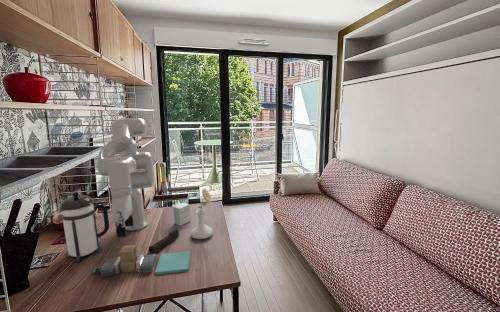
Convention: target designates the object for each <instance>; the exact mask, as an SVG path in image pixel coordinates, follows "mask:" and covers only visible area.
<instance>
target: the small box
mask: <svg viewBox="0 0 500 312" xmlns="http://www.w3.org/2000/svg"><path fill="white" fill-rule="evenodd" d="M173 219H174V224H176V225H178V226H183V225H185V224H187V223H189V222H191V221H192V217H191V204H189V203H186V202H182V203H180V204H177V205H174V206H173Z"/></svg>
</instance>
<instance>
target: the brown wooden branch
mask: <svg viewBox="0 0 500 312" xmlns="http://www.w3.org/2000/svg"><path fill="white" fill-rule="evenodd" d="M179 236H180V233H179V230H178V229H173V230H171V231H169V232H168V234H167V235H166V236H165V237H163V238H161V240H158V241H157V242H156V243H153V244H152V245H149V246H148V252H149V254H157V253H158V251H159V250H161V249H163V248H164V247H165V246H166V245H168V244H170V243H171V242H174V241H176V240H177V238H178V237H179Z"/></svg>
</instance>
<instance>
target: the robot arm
mask: <svg viewBox="0 0 500 312" xmlns="http://www.w3.org/2000/svg"><path fill="white" fill-rule="evenodd" d="M110 127H111V132H112V135H111V137H112V138H111V140H110V141H109V142H107V143H106V144H105V145H103V147H101V149H100V150H99V152H98V156H97V157H98V158H97V163H96V164H97V172H98V174H99V175H100V176H103V177H108V183H109V190H110V191H109V192H110V197H111V216H112V223H113V222H114V227H115V231H116V232H115V233H116V237H117V238H125V237H127V231H129V232H131V231H133V232H134V231H138V230H141V229H145V228H146V227H147V226H148V225H149V221H148V220H147V219H146V217H145V207H144V206H145V205H144V198H143V193H141V191H140V190H139V189H148V188H153V187H154V186H155V182H156V180H155V179H156V178H155V170H154V159H153V156H152V154H151V152H149V151H138V144H137V141H136V140H134V139H133V137H145V136H147V134H148V129H149V128H148V125H147V122H146V120H145V119H143V118H141V117H131V118H130V117H129V118H127V117H125V118H124V117H123V118H118V119H116V120H115V121H114V122H112V123H111V125H110ZM117 154H120V156H115V155H117ZM137 170H144V171H137Z"/></svg>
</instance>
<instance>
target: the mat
mask: <svg viewBox="0 0 500 312" xmlns="http://www.w3.org/2000/svg"><path fill="white" fill-rule="evenodd" d="M190 258H191V251H180V252H172V253H171V252H169V253H162V254H161V253H160V256H159V260H158V263H157V266H156V268H155V271H154V274H155V275H164V274H172V273H180V272H188V271H189V268H190V267H189V266H190V260H191V259H190Z"/></svg>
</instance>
